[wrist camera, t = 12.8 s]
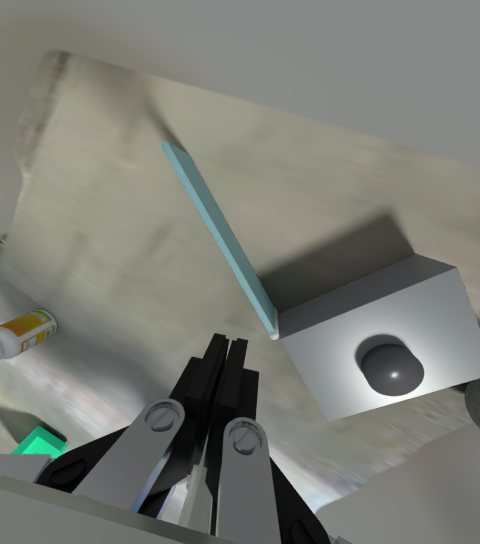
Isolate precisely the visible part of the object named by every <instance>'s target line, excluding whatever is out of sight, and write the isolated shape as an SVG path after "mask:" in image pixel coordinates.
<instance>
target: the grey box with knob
mask: <svg viewBox="0 0 480 544" xmlns="http://www.w3.org/2000/svg"><path fill="white" fill-rule="evenodd" d="M278 317H279V335H280V341H281V342H282V344H283V346H284V348H285V349H286V351H287V353H288V355H289V356H290V358H291V360H292V362H293V363H294V365H295V367H296V369H297V370H298V372H299V374H300V375H301V377H302V379H303V381H304V382H305V384H306V386H307V388H308V389H309V391H310V393H311V395H312V396H313V398H314V400H315V401H316V403H317V405H318V407H319V408H320V410H321V412H322V414H323V415H324V417H325V419H326V421H327V422H329V421H333V420H336V419H340V418H343V417H346V416H350V415H353V414H357V413H360V412H364V411H367V410H371V409H374V408H378V407H381V406H385V405H388V404H392V403H395V402H399V401H402V400H406V399H409V398H413V397H416V396H420V395H423V394H427V393H430V392H433V391H437V390H440V389H444V388H447V387H451V386H454V385H458V384H461V383H465V382H468V381H472V380H475V379H479V378H480V327H479V324H478V322H477V319H476V316H475V314H474V311H473V308H472V306H471V303H470V300H469V298H468V295H467V292H466V290H465V287H464V284H463V282H462V279H461V276H460V274H459V271H458V268H457V267H455V266H452V265H449V264H446V263H443V262H439V261H436V260H433V259H430V258H427V257H424V256H421V255H418V254H414V255H411V256H409V257H407V258H404V259H402V260H400V261H398V262H395V263H393V264H391V265H389V266H386V267H384V268H382V269H379V270H377V271H375V272H373V273H370V274H368V275H366V276H363V277H361V278H359V279H357V280H354V281H352V282H350V283H348V284H345V285H343V286H341V287H338V288H336V289H334V290H332V291H329V292H327V293H325V294H322V295H320V296H318V297H316V298H313V299H311V300H309V301H307V302H304V303H302V304H300V305H297V306H295V307H293V308H291V309H288V310H286V311H284V312H281V313H279V314H278Z"/></svg>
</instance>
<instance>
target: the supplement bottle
mask: <svg viewBox="0 0 480 544" xmlns="http://www.w3.org/2000/svg"><path fill="white" fill-rule="evenodd" d="M56 330H57V323H56V321H55V319H54V317H53V316H52V315H51V314H50V313H48V312H47V311H44V310H35V311H32V312H30V313H27V314H25V315H23V316H21V317H18V318H16V319H14V320H12V321H9V322H7V323H5V324H3V325H0V360H1V359H11V358H13V357H15V356H17V355H19V354H21V353H22V352H24V351H26V350H27V349H29V348H31V347H33V346H34V345H36V344H38V343H39V342H41V341H43V340H45V339H46V338H48V337H50V336H51V335H53V334H54V333H55V332H56Z"/></svg>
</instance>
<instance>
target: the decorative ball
mask: <svg viewBox="0 0 480 544" xmlns="http://www.w3.org/2000/svg"><path fill="white" fill-rule="evenodd" d="M465 403H466V407H467V410H468V412H469V414H470V416H471V418H472V419H473V421H474V422H475V423H476V425H477V426H478V427H479V428H480V378H479V379H475V380H472V381H469V383H468V384H467V387H466V390H465Z"/></svg>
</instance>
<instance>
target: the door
mask: <svg viewBox="0 0 480 544" xmlns="http://www.w3.org/2000/svg"><path fill="white" fill-rule="evenodd" d="M161 147H162V149H163V150H164V152H165V154H166V156H167V157H168V159H169V161H170V163H171V164H172V166H173V168H174V169H175V171H176V173H177V175H178V176H179V178H180V180H181V182H182V183H183V185H184V187H185V189H186V190H187V192H188V194H189V195H190V197H191V199H192V201H193V202H194V204H195V206H196V208H197V209H198V211H199V213H200V215H201V216H202V218H203V220H204V221H205V223H206V225H207V227H208V228H209V230H210V232H211V234H212V235H213V237H214V239H215V241H216V242H217V244H218V246H219V247H220V249H221V251H222V253H223V254H224V256H225V258H226V260H227V261H228V263H229V265H230V267H231V268H232V270H233V272H234V273H235V275H236V277H237V279H238V280H239V282H240V284H241V286H242V287H243V289H244V291H245V293H246V294H247V296H248V298H249V299H250V301H251V303H252V305H253V306H254V308H255V310H256V312H257V313H258V315H259V317H260V318H261V320H262V322H263V324H264V325H265V327H266V329H267V331H268V332H269V337H270V338H271V339H273V340H276V339H277V338H278V337H279V330H278V311H277V309H276V308H274V306H273V304H272V302H271V300H270V299H269V297H268V295H267V293H266V291H265V290H264V288H263V286H262V284H261V283H260V281H259V279H258V277H257V275H256V274H255V272H254V270H253V268H252V266H251V265H250V263H249V261H248V259H247V257H246V256H245V254H244V252H243V250H242V248H241V247H240V245H239V243H238V241H237V239H236V238H235V236H234V234H233V232H232V231H231V229H230V227H229V225H228V223H227V222H226V220H225V218H224V216H223V214H222V213H221V211H220V209H219V207H218V205H217V204H216V202H215V200H214V198H213V196H212V195H211V193H210V191H209V189H208V187H207V186H206V184H205V182H204V180H203V179H202V177H201V175H200V173H199V171H198V170H197V168H196V166H195V164H194V162H193V161H192V159H191V157H190V155H189V154H187V153H185V152H184V151H182V150H181V149H179V148H177V147H176V146H174V145H173V144H171V143H169V142H168V141H165V142H164V143H163V144H161Z"/></svg>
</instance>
